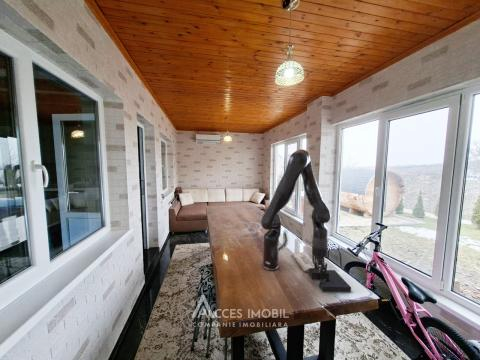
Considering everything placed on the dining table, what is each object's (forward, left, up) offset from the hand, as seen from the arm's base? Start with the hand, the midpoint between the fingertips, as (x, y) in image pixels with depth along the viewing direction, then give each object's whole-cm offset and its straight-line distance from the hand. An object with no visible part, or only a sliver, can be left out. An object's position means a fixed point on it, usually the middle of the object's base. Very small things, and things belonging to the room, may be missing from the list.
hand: (318, 276), depth 103 cm
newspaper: (-22, +2, -4) cm, 22 cm away
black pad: (0, 0, 0) cm, 0 cm away
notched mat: (0, +6, -3) cm, 7 cm away
